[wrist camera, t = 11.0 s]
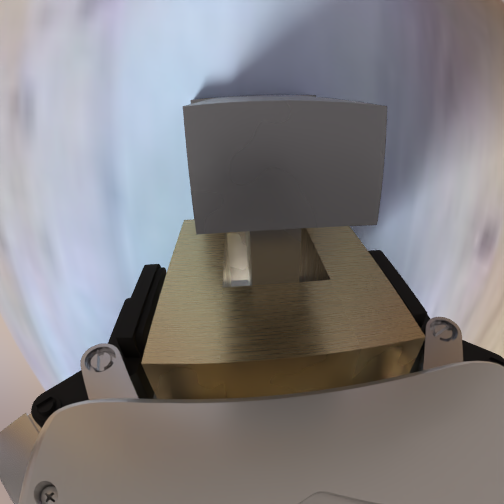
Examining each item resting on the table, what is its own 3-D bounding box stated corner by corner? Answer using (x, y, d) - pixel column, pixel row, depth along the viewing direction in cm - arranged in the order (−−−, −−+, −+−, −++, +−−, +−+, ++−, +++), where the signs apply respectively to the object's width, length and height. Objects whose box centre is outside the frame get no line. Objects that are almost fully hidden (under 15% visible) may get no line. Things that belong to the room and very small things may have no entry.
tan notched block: (338, 211, 12) (425, 336, 6) (327, 309, 14) (372, 439, 8) (184, 220, 12) (141, 363, 6) (200, 318, 14) (188, 458, 8)
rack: (311, 95, 12) (437, 113, 4) (295, 392, 22) (314, 499, 14) (193, 99, 12) (116, 116, 4) (229, 397, 22) (232, 507, 14)
